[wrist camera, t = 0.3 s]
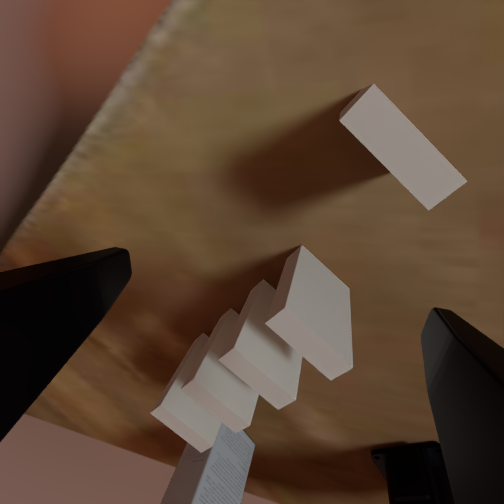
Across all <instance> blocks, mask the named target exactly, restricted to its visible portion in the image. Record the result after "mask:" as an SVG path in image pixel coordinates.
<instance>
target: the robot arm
mask: <svg viewBox="0 0 504 504" xmlns="http://www.w3.org/2000/svg"><path fill="white" fill-rule="evenodd" d="M131 274H132V270H131V262H130V255H129V252H128V250H127V249H123V248H118V247H113V248H108V249H104V250H99V251H95V252H90V253H86V254H81V255H76V256H72V257H67V258H63V259H58V260H54V261H49V262H45V263H40V264H35V265H31V266H26V267H22V268H17V269H13V270H8V271H4V272H0V442H1V441H2V439H3V438H4V437H5V436H6V435H7V433H8V432H9V431H10V430H11V429H12V428H13V426H14V425H15V424H16V423H17V421H18V420H19V419H20V418H21V417H22V415H23V414H24V413H25V412H26V411H27V409H28V408H29V407H30V406H31V405H32V403H33V402H34V401H35V400H36V399H37V397H38V396H39V395H40V394H41V393H42V391H43V390H44V389H45V388H46V387H47V385H48V384H49V383H50V382H51V381H52V379H53V378H54V377H55V376H56V375H57V373H58V372H59V371H60V370H61V369H62V367H63V366H64V365H65V364H66V363H67V361H68V360H69V359H70V358H71V357H72V355H73V354H74V353H75V352H76V351H77V349H78V348H79V347H80V346H81V344H82V343H83V342H84V341H85V340H86V338H87V337H88V336H89V335H90V334H91V332H92V331H93V330H94V329H95V328H96V326H97V325H98V324H99V323H100V322H101V320H102V319H103V318H104V317H105V315H106V314H107V312H108V311H109V310H110V308H111V307H112V305H113V304H114V302H115V301H116V299H117V298H118V296H119V295H120V293H121V292H122V290H123V289H124V287H125V286H126V284H127V283H128V281H129V280H130V278H131ZM421 344H422V352H423V361H424V369H425V378H426V385H427V392H428V396H429V401H430V405H431V409H432V413H433V417H434V421H435V425H436V429H437V433H438V437H439V441H440V443H429V444H421V445H413V446H405V447H397V448H389V449H381V450H374V451H372V452H371V458H372V460H373V461H374V463H375V464H376V466H377V467H378V469H379V470H380V472H381V473H382V475H383V476H384V478H385V479H386V481H387V487H388V495H389V504H504V348H502V347H501V346H499V345H498V344H497V343H495V342H494V341H493V340H491V339H490V338H488V337H487V336H486V335H484V334H483V333H481V332H480V331H479V330H477V329H476V328H475V327H473V326H472V325H470V324H469V323H468V322H466V321H465V320H463V319H462V318H461V317H459V316H458V315H457V314H455V313H454V312H452V311H451V310H447V309H442V308H433V309H432V310H431V311H430V313H429V315H428V318H427V320H426V323H425V325H424V328H423V330H422V333H421Z"/></svg>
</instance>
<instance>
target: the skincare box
mask: <svg viewBox="0 0 504 504" xmlns="http://www.w3.org/2000/svg"><path fill="white" fill-rule="evenodd" d="M254 448H255V444H254V443H253V442H252V441H251V439H250V438H249V437H248V436H247V435H246V433H245V432H244V431H243V430H241V431H239V432H238V433H235V432H233V431H232V430H231V429H230V428H228V427H227V426H226V425H225V424H223V423H221V426H220V429H219V431H218V434H217V437H216V440H215V442H214V445H213V447H211V448H209V449H207V450H205V451H204V452H202V453H201V452H199V451H198V450H197V449H196V448H194V447H193V446H192V445H190V444H189V443H188V442H187V444H186V447H185V449H184V451H183V453H182V456H181V458H180V460H179V462H178V465H177V467H176V469H175V472H174V474H173V476H172V478H171V481H170V483H169V485H168V488H167V490H166V492H165V494H164V497H163V499H162V501H161V504H241V501H242V497H243V493H244V489H245V485H246V480H247V476H248V472H249V468H250V464H251V460H252V456H253V452H254Z"/></svg>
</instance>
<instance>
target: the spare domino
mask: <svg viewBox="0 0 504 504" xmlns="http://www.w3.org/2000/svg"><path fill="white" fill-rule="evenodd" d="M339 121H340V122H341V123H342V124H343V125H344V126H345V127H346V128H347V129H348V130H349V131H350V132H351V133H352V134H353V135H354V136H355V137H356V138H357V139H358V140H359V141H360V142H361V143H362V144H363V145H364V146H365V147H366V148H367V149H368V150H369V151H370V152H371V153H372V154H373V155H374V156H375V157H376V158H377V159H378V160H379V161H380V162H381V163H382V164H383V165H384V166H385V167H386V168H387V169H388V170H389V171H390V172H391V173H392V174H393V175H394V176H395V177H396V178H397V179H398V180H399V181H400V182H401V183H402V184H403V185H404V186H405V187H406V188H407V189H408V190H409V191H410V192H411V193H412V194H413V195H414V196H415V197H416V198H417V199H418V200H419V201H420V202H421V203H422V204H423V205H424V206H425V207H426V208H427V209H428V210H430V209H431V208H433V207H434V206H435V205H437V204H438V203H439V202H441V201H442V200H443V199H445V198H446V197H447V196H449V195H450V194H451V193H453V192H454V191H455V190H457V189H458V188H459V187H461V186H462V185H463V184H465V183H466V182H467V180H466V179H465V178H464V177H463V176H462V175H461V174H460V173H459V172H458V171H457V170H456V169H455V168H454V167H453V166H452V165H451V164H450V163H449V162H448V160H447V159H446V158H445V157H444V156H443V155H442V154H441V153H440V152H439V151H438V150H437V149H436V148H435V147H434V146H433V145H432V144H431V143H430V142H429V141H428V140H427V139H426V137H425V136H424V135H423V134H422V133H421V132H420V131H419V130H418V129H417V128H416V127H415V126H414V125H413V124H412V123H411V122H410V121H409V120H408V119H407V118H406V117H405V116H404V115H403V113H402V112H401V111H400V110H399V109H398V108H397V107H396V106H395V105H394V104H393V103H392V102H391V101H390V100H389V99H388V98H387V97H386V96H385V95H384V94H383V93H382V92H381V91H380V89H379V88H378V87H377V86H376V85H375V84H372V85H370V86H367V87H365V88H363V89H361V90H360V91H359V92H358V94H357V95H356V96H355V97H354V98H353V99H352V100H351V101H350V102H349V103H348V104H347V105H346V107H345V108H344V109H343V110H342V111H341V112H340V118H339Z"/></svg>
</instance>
